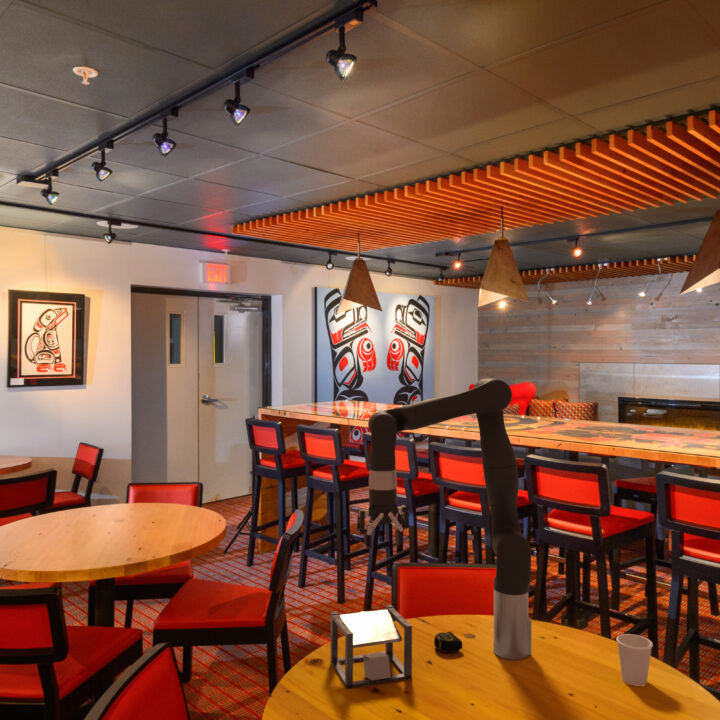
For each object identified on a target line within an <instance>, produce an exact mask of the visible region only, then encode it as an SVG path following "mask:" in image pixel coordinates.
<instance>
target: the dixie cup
mask: <svg viewBox="0 0 720 720" xmlns="http://www.w3.org/2000/svg"><path fill="white" fill-rule="evenodd" d="M616 642H617V649H618V656H619V665H620V674H621V680H622V679H623V680H622V682H623V683H625V682H626V683H628V684H627V685H629V684H631V685H636V686H637V685H638V686H642V685H645V684H646V683H647V684H648V676H649V671H650V670H649V669H650V663H651V655H652V648H653V647H654V644H653V642H652V641H651V640H650V639H648V638H646V637H645V636H642V635H638V634H631V633H621V634H619V635H617V637H616ZM626 683H625V684H626ZM647 684H646V685H647ZM631 685H630V686H631ZM646 685H645V686H646ZM636 686H635V687H636ZM642 687H643V686H642Z"/></svg>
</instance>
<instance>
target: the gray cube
mask: <svg viewBox="0 0 720 720" xmlns="http://www.w3.org/2000/svg"><path fill="white" fill-rule="evenodd" d="M374 653H375V654H371V653H367V654H368V655H364V654H363V655H364V660H363V667H364V668H363V669H364V677H365V678H366V679H370V680H371V681H372V680H378V679H384V678H390V677H391V666H390V665H391V664H390V659H389V655H387V654H384V653H377V652H374Z"/></svg>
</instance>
